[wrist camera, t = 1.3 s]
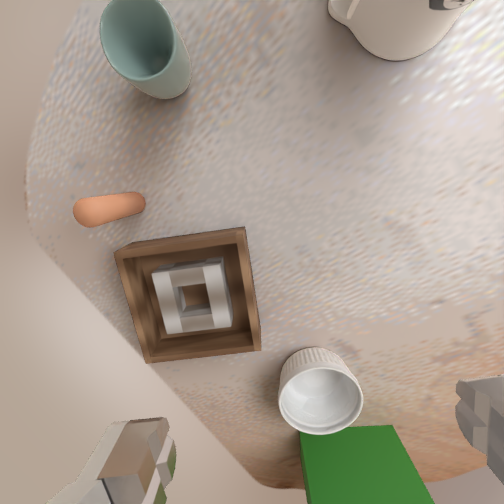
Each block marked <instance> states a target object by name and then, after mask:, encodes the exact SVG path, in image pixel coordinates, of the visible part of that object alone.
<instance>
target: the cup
mask: <svg viewBox="0 0 504 504" xmlns="http://www.w3.org/2000/svg"><path fill="white" fill-rule="evenodd" d="M100 39H101V44H102V47H103V51H104V53H105V55H106V57H107V60H108V61H109V63H110V64H111V66H112V67H113V69H114V70H115V71H116V72H117V73H118V74H119V75H120V76H121V77H122V78H124V79H125V80H126V81H128V82H129V83H130V84H132V85H133V86H134V87H136V88H137V89H139V90H140V91H142V92H143V93H145V94H147V95H149V96H152V97H154V98H158V99H171V98H175V97H177V96H179V95H181V94H182V93H183V92H184V91H185V90H186V89H187V88H188V86H189V84H190V81H191V76H192V67H191V60H190V56H189V52H188V50H187V47H186V44H185V42H184V40H183V38H182V36H181V34H180V32H179V30H178V28H177V26H176V24H175V23H174V21H173V19H172V17H171V16H170V14H169V12H168V11H167V10H166V8H165V7H164V6H163V5H162V3H161V2H159V1H158V0H112V1H111V2H110V3H109V4H108V6H107V7H106V8H105V10H104V12H103V14H102V16H101V21H100Z"/></svg>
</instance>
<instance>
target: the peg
mask: <svg viewBox="0 0 504 504" xmlns="http://www.w3.org/2000/svg"><path fill="white" fill-rule="evenodd" d="M145 205H146V203H145V199H144V197H143V196H142V195H141V194H140V193H137V192H128V193H121V194H113V195H105V196H98V197H90V198H83V199H80V200H78V201H77V202H76V203H75V205H74V207H73V214H74V217H75V219H76V220H77V221H78V222H79V223H80V224H81V225H83V226H85V227H95V226H98V225H102V224H105V223H108V222H111V221H114V220H118V219H121V218H124V217H127V216H130V215H133V214H137V213H140V212H142V211H143V210H144V208H145Z"/></svg>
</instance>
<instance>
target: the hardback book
mask: <svg viewBox="0 0 504 504" xmlns="http://www.w3.org/2000/svg"><path fill="white" fill-rule="evenodd" d="M300 457H301V464H302V471H303V477H304V484H305V490H306V496H307V503H308V504H435V503H434V501H433V500H432V498H431V496H430V494H429V492H428V490H427V489H426V487H425V485H424V483H423V481H422V479H421V477H420V476H419V474H418V472H417V470H416V468H415V466H414V464H413V463H412V461H411V459H410V457H409V455H408V453H407V452H406V450H405V448H404V446H403V444H402V442H401V440H400V439H399V437H398V435H397V433H396V431H395V429H394V428H393V426H392V425H383V426H361V427H346V428H344V429H342V430H340V431H337V432H335V433H331V434H324V435H315V434H308V433H304V432H301V431H300Z"/></svg>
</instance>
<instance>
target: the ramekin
mask: <svg viewBox="0 0 504 504" xmlns="http://www.w3.org/2000/svg"><path fill="white" fill-rule="evenodd" d="M278 404H279V409H280V412H281V414H282V416H283V418H284V419H285V420H286V421H287V423H288V424H289V425H291V426H292V427H294V428H295V429H297V430H299V431H301V432H304V433H308V434H315V435H324V434H331V433H335V432H337V431H340V430H342V429H344V428H346V427H347V426H349V425H350V424H352V423H353V422H354V421H355V419H356V418H357V417H358V415H359V414H360V412H361V409H362V406H363V394H362V390H361V387H360V385H359V383H358V381H357V379H356V378H355V376H354V375H353V374H352V373H351V372H350V370H349V369H348V367H347V366H346V364H345V363H344V362H343V361H342V359H341V358H340V357H339V356H338V355H336V354H335V353H334V352H332V351H330V350H327V349H324V348H318V347H311V348H306V349H302V350H299V351H297V352H296V353H294V354H293V355H292V356H290V357H289V358H288V359H287V361H286V362H285V364H284V365H283V368H282V370H281V376H280V388H279V391H278Z"/></svg>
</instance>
